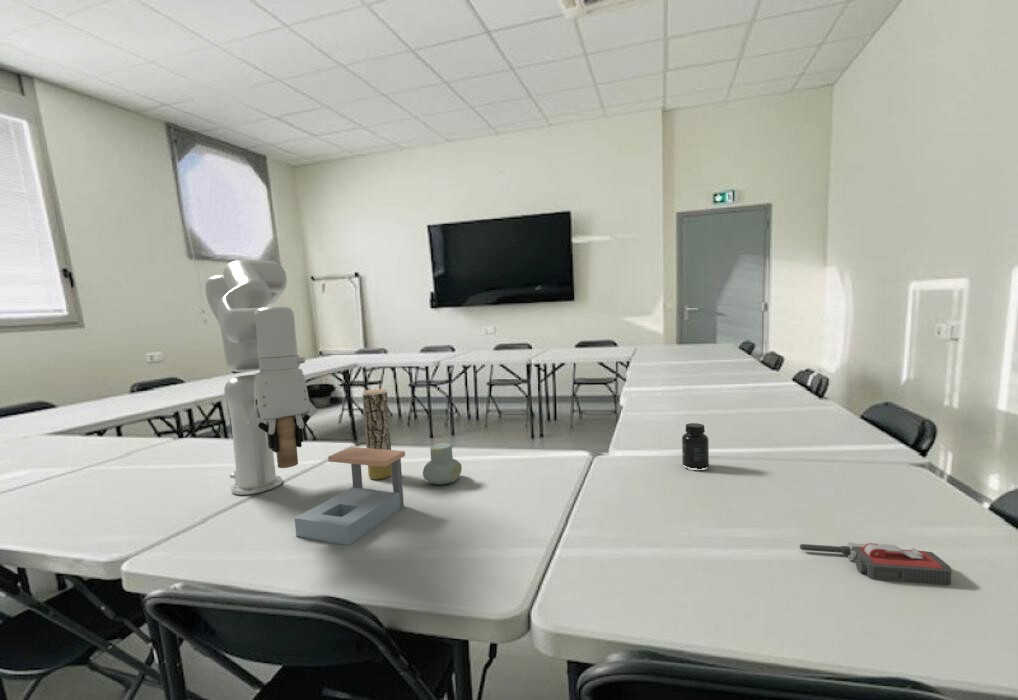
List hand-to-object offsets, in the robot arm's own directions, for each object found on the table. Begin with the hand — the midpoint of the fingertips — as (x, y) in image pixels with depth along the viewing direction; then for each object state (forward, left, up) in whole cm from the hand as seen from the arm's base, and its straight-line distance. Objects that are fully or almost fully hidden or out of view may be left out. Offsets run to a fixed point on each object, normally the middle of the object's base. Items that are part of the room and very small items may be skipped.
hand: (286, 447), depth 100 cm
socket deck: (+10, +7, -19) cm, 22 cm away
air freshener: (+18, +35, -19) cm, 43 cm away
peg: (0, 0, -4) cm, 4 cm away
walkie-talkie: (+110, +18, -19) cm, 113 cm away
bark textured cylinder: (-2, +34, -19) cm, 39 cm away
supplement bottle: (+83, +62, -19) cm, 105 cm away
